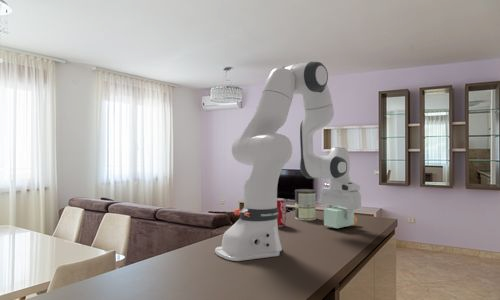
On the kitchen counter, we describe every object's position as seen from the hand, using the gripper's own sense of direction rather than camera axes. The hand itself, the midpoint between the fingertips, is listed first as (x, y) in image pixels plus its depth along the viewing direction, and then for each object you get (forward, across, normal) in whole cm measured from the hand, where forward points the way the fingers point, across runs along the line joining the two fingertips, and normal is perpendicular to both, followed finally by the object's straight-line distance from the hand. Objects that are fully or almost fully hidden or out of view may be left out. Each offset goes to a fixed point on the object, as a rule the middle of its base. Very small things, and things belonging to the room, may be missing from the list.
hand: (339, 216), depth 148 cm
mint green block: (+3, 0, 0) cm, 3 cm away
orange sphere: (+2, 0, +8) cm, 8 cm away
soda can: (+5, -18, -20) cm, 27 cm away
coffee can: (+5, -24, +2) cm, 25 cm away
